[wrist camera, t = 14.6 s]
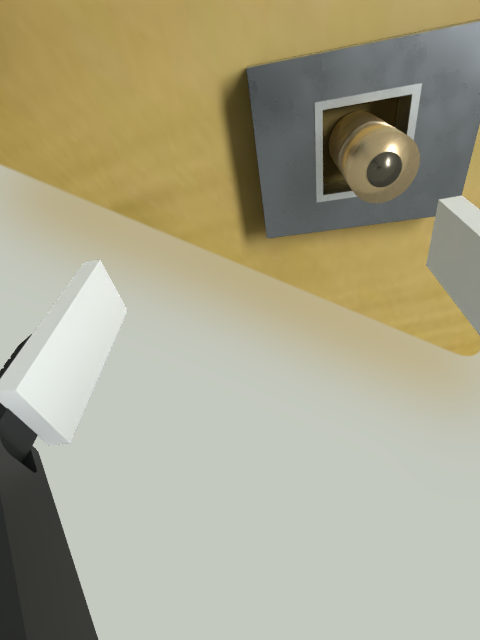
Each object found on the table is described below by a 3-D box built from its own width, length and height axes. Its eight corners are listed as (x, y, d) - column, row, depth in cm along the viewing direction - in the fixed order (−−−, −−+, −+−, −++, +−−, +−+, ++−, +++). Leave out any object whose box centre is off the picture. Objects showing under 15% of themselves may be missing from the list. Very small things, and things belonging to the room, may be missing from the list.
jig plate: (247, 66, 28) (246, 68, 25) (483, 18, 25) (507, 15, 23) (266, 226, 36) (267, 238, 34) (443, 201, 34) (457, 213, 32)
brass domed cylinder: (328, 116, 30) (351, 138, 23) (385, 106, 29) (426, 126, 22) (328, 172, 33) (348, 207, 26) (379, 164, 32) (414, 198, 25)
